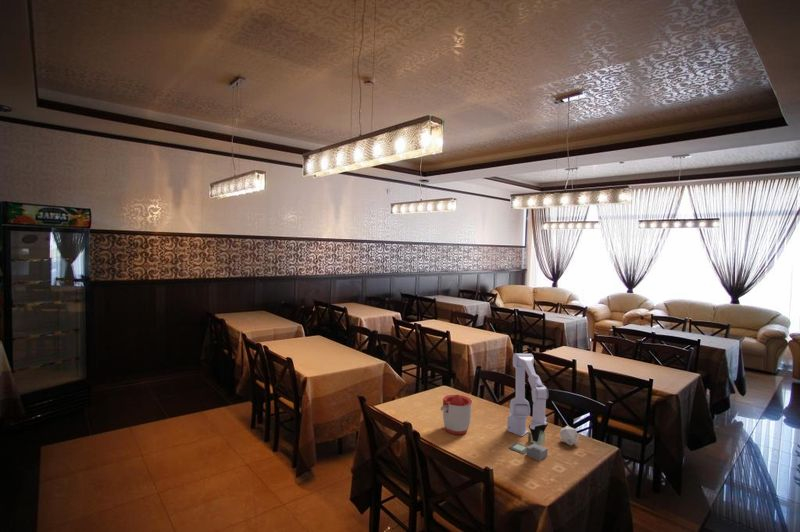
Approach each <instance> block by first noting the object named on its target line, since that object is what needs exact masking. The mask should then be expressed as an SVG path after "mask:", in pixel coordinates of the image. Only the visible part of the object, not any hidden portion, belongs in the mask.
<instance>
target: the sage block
mask: <svg viewBox="0 0 800 532" xmlns="http://www.w3.org/2000/svg"><path fill="white" fill-rule="evenodd" d="M531 442H532V444H534V443H535V444H537V445H540V446H543V444H544V443H546V431H544V432H543V431H540V433H539V437H538V441H537V442H536V441H533V439H532V434H531ZM531 442H530V443H531Z"/></svg>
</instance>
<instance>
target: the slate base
mask: <svg viewBox="0 0 800 532" xmlns="http://www.w3.org/2000/svg"><path fill="white" fill-rule="evenodd" d="M526 456H528V457H530V458H532V459H535V460H537V461H539V462H540V461H542V460H544V459H546V458H547V457H548V448H547V447H544V446H543V445H541V446H540V445H537V444H535V443H532V444H530V445H529V446H527V452H526Z"/></svg>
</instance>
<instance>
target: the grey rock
mask: <svg viewBox="0 0 800 532" xmlns="http://www.w3.org/2000/svg"><path fill="white" fill-rule="evenodd" d="M559 435H560V438H561V441H562V442H563V443H565V444H566V445H568V446H573V445H574V444H576V443H577V442H578V441H580V438H579V435H578V432H577V429H576V428H574V427H571V426H570V425H566V426H565V427H562V428H561V429H560V430H559Z"/></svg>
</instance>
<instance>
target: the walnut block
mask: <svg viewBox="0 0 800 532" xmlns="http://www.w3.org/2000/svg"><path fill="white" fill-rule="evenodd" d="M527 435H528V438H527V442H528V443H530V444H531V443H532V442H531V431H529V432H528V434H527ZM532 444H533V443H532Z"/></svg>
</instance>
